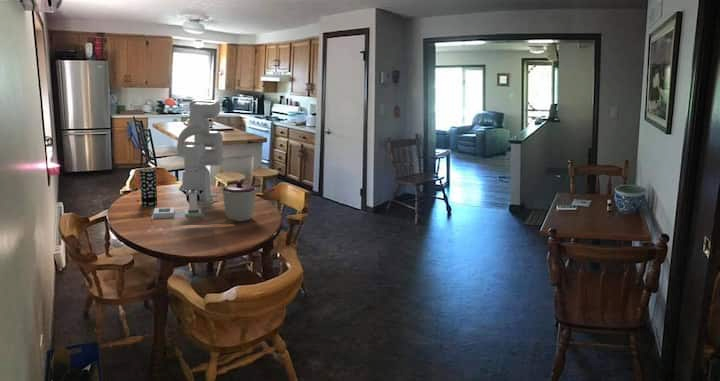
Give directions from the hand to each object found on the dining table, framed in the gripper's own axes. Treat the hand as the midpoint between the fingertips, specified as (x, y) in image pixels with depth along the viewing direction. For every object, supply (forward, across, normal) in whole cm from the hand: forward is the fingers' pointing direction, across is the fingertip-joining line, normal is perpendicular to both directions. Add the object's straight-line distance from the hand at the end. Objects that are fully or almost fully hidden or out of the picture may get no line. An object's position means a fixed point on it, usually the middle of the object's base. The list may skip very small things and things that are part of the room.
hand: (193, 201), depth 283 cm
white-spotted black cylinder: (+9, +24, -28) cm, 38 cm away
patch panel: (+8, +8, +1) cm, 11 cm away
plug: (+4, 0, 0) cm, 4 cm away
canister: (+8, -23, +10) cm, 27 cm away
